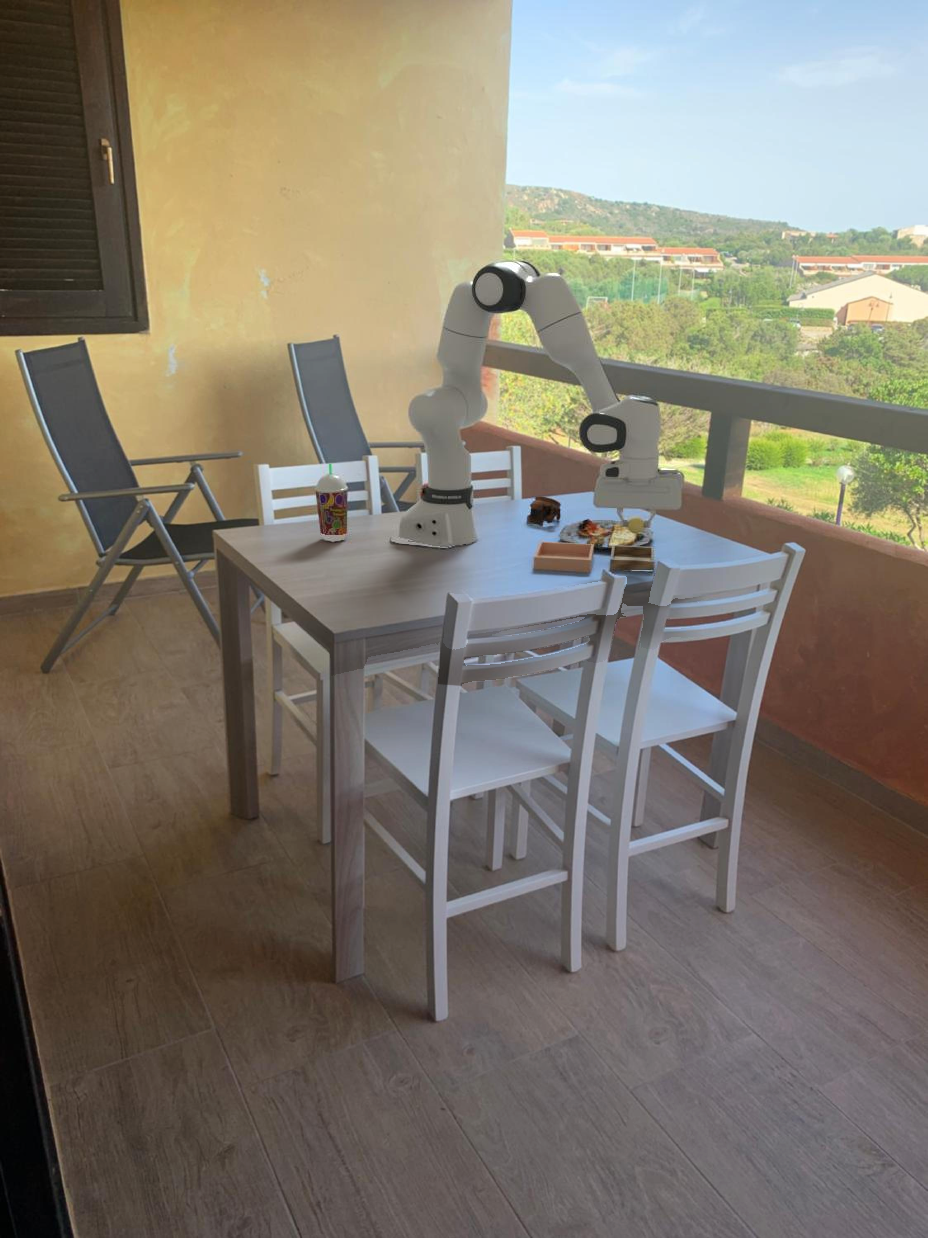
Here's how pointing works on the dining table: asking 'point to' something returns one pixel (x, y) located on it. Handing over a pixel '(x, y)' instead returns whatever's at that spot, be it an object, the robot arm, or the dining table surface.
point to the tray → (632, 558)
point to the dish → (564, 556)
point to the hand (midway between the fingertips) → (635, 526)
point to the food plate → (604, 534)
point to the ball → (635, 524)
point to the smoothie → (332, 504)
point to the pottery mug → (544, 511)
